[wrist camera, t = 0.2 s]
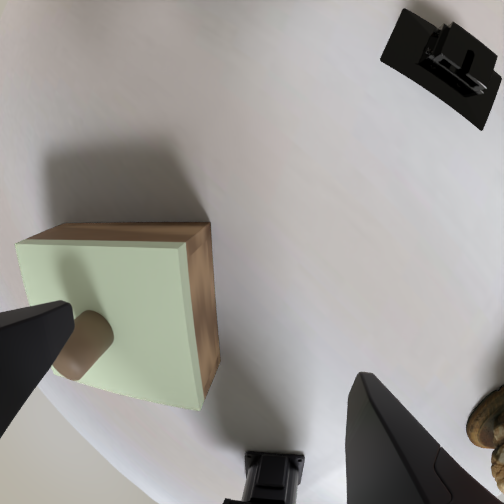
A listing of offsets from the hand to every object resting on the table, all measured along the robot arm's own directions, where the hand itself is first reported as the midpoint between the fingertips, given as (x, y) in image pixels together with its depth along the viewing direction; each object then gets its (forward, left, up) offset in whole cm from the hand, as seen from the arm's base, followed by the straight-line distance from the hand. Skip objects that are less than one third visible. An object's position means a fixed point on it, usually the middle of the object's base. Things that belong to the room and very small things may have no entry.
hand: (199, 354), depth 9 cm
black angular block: (+12, -13, -15) cm, 24 cm away
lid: (-6, +11, -9) cm, 15 cm away
